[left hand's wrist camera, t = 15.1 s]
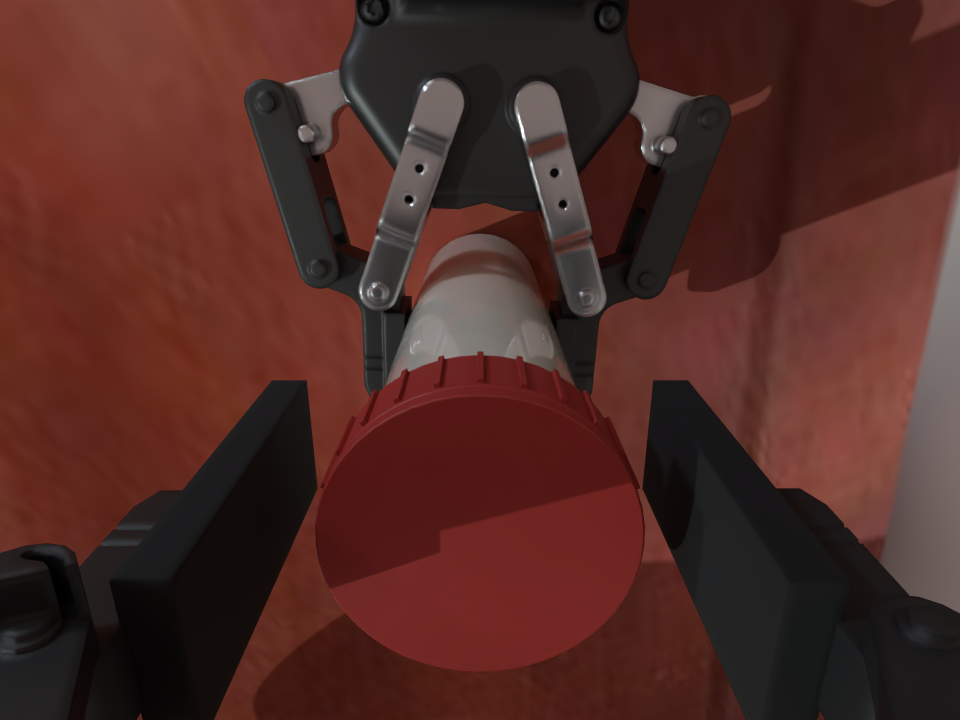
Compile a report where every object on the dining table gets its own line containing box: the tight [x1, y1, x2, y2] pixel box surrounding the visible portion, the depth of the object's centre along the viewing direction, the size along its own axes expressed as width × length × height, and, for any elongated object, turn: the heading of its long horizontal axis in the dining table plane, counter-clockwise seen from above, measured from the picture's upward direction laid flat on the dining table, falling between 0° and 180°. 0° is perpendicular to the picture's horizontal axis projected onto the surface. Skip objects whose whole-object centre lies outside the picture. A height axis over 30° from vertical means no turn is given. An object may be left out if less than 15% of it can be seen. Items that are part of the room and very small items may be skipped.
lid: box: [315, 351, 645, 672], centre depth 11 cm, size 6×6×2 cm
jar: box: [384, 234, 576, 387], centre depth 19 cm, size 5×5×17 cm
